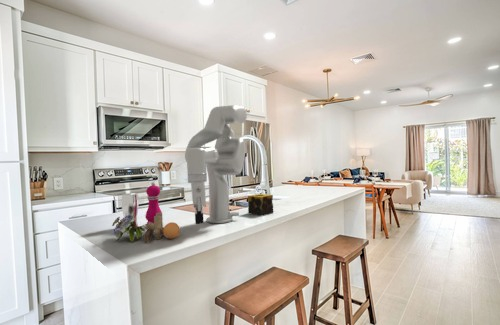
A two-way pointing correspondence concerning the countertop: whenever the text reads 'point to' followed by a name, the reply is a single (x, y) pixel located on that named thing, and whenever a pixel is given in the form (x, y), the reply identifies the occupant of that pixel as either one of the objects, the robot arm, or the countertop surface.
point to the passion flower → (127, 228)
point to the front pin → (151, 226)
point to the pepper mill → (152, 202)
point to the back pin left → (157, 227)
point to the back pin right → (161, 218)
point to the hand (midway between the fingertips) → (199, 222)
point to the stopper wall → (148, 235)
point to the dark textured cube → (260, 204)
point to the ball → (171, 230)
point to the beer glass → (130, 205)
